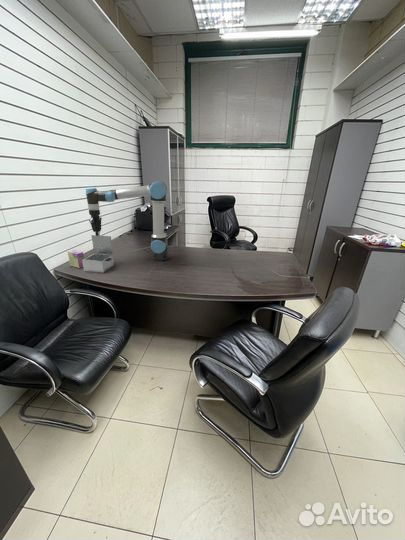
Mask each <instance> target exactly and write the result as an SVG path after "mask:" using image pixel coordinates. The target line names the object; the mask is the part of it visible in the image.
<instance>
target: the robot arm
mask: <svg viewBox="0 0 405 540" xmlns="http://www.w3.org/2000/svg"><path fill="white" fill-rule="evenodd" d="M167 187H168V186H167V185H166V184H165V183H164V182H163V181H159V180H158V181H153V182H152V183H149V184H147V185H142V186H135V187H133V186H132V187H127V188H117V189H110V190H98V189H97V188H96V187H86V188H85V195H86V202H87V208H88V213H89V215H90V219H89V220H88V221H89V223H90V226H91V228H92V232H93V233H95V234H94V235H99V236H101V231H102V219H103V218H102V217H100V215H101V211H100V202H103V203H104V202H107V203H113V202H115V201H117V200H121V199H122V200H124V199H132V198H134V199H135V198H140V197H150V201H151V203H152V235H151V236H150V238H151V239H150V241H151V243H150V249H151V251H153V254H152V259H153V260H154V261H156V260H157V261H158V262H164V261H163V260H166V261H168V260H167V259H169V258H171V255H170V252H169V249H168V234H167V233H166V232H165V203H166V202H167V193H168V188H167ZM169 260H170V259H169Z"/></svg>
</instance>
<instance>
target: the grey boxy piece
mask: <svg viewBox="0 0 405 540" xmlns="http://www.w3.org/2000/svg"><path fill="white" fill-rule="evenodd" d="M113 255H114V254H113ZM113 255H105V254H94V253H92V254H90V255H87V256H84V259H83V260H82V263H83V267H82V268H83V271H84V272H90V273H91V272H92V273H100V274H101V273H102V274H103V273H106V272H107V271H108V270H110V269H111V268H113V267H114V266H115V264H114V262H115V261H114V256H113Z"/></svg>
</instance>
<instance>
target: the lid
mask: <svg viewBox="0 0 405 540" xmlns="http://www.w3.org/2000/svg"><path fill="white" fill-rule="evenodd" d="M91 242H92V248H93V254H104V255H114V252H113V244H112V237H111V236H109V235H100V236H99V235H96V234H92V235H91Z"/></svg>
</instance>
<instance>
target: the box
mask: <svg viewBox="0 0 405 540" xmlns="http://www.w3.org/2000/svg"><path fill="white" fill-rule="evenodd" d="M67 254H68V255H67V256H68V261H69V265H70V266H71V267H74V268H76V269H77V268H78V269H81V268H83V263H82V260H83V259H84V258H85V256H84V252H83V251H78V250H76V249H75V250H74V249H73V250H70V251H67Z"/></svg>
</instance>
